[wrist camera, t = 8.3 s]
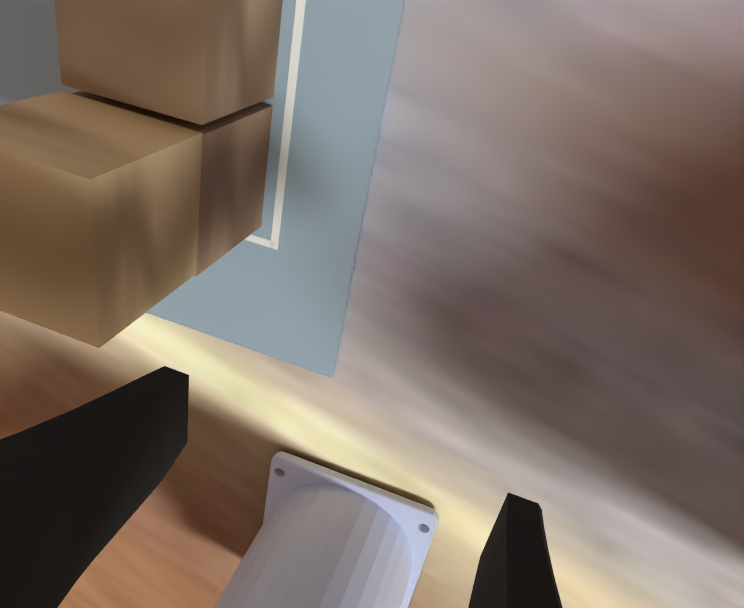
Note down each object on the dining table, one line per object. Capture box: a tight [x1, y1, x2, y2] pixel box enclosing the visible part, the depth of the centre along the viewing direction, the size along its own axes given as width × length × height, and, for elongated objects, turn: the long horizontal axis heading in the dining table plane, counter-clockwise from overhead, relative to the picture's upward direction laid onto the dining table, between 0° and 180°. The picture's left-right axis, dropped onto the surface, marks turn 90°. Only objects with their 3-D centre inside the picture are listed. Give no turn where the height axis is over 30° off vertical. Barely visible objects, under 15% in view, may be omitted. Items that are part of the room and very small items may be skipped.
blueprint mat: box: [0, 0, 404, 378], centre depth 23 cm, size 16×20×1 cm
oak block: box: [0, 91, 203, 348], centre depth 16 cm, size 4×4×4 cm
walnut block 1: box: [55, 0, 283, 125], centre depth 18 cm, size 4×4×4 cm
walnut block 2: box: [72, 91, 273, 276], centre depth 20 cm, size 4×4×4 cm
